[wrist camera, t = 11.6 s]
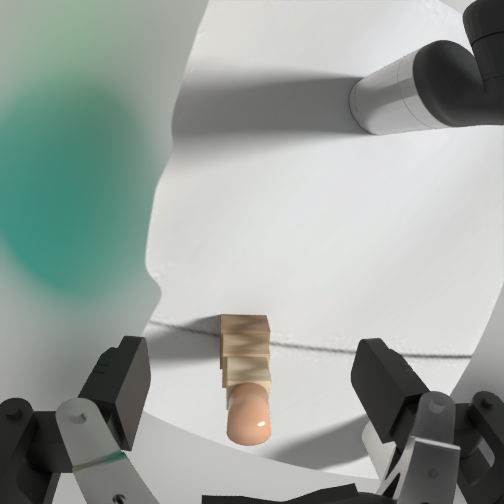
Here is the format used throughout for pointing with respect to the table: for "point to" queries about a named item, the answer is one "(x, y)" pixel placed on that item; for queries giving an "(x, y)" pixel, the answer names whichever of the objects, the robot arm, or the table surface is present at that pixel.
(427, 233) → the table surface
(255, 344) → the tower mid
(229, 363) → the tower top
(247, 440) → the cylinder
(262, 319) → the tower base
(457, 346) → the table surface
